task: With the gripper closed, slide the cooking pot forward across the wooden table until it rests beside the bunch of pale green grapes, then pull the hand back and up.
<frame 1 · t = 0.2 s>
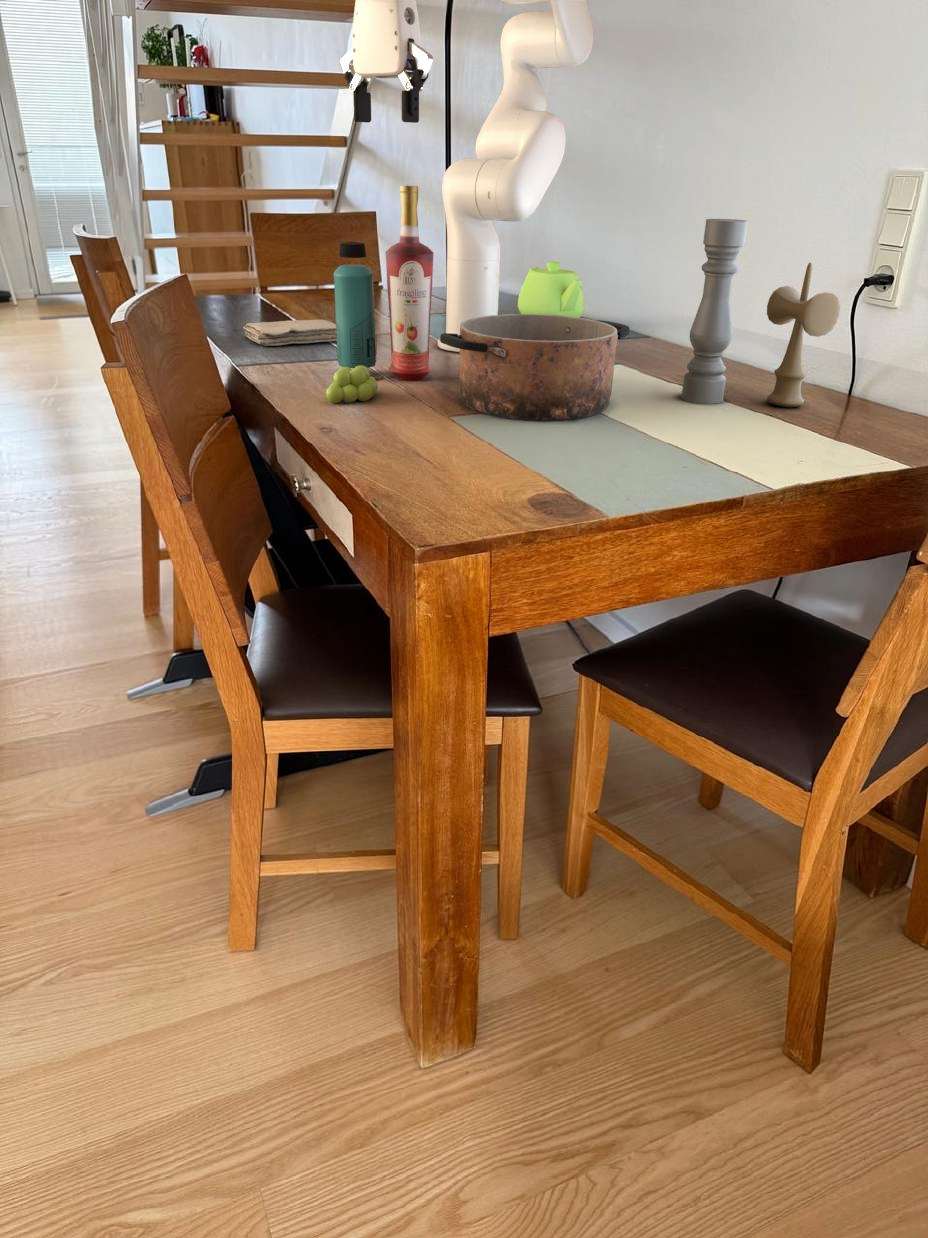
hand: (386, 121, 138), 36 cm above the table, tool pointing down, fingers open, 9 cm apart
teapot: (549, 325, 197), on the table
cooking pot: (534, 403, 136), on the table
kendama: (784, 406, 137), on the table
washcloth: (296, 340, 175), on the table
grapes: (355, 397, 135), on the table
beverage bottle: (357, 374, 150), on the table
candle holder: (701, 400, 140), on the table
liquor: (410, 378, 149), on the table
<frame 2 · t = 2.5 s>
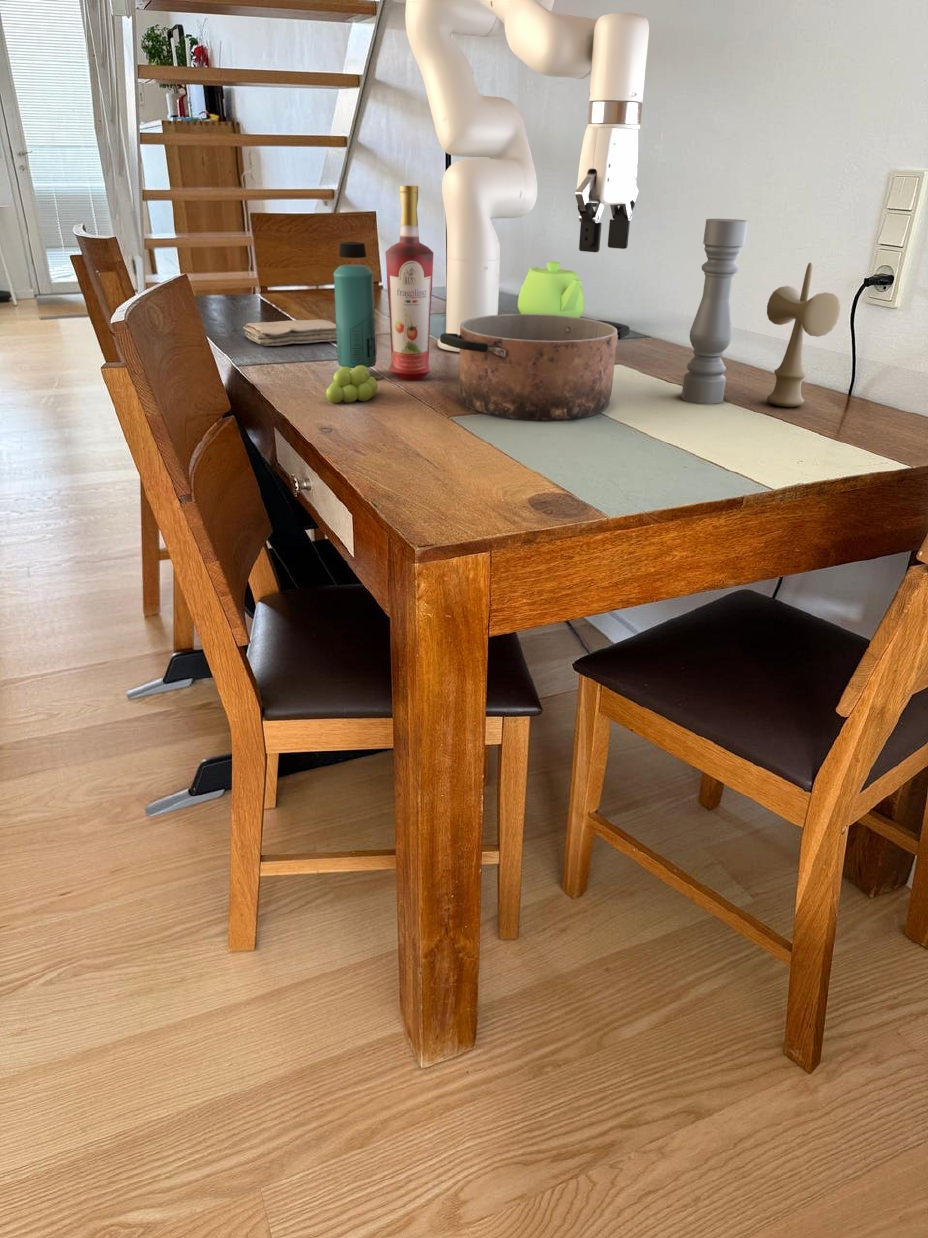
hand: (603, 248, 139), 20 cm above the table, tool pointing down, fingers open, 7 cm apart
nothing on the table moved.
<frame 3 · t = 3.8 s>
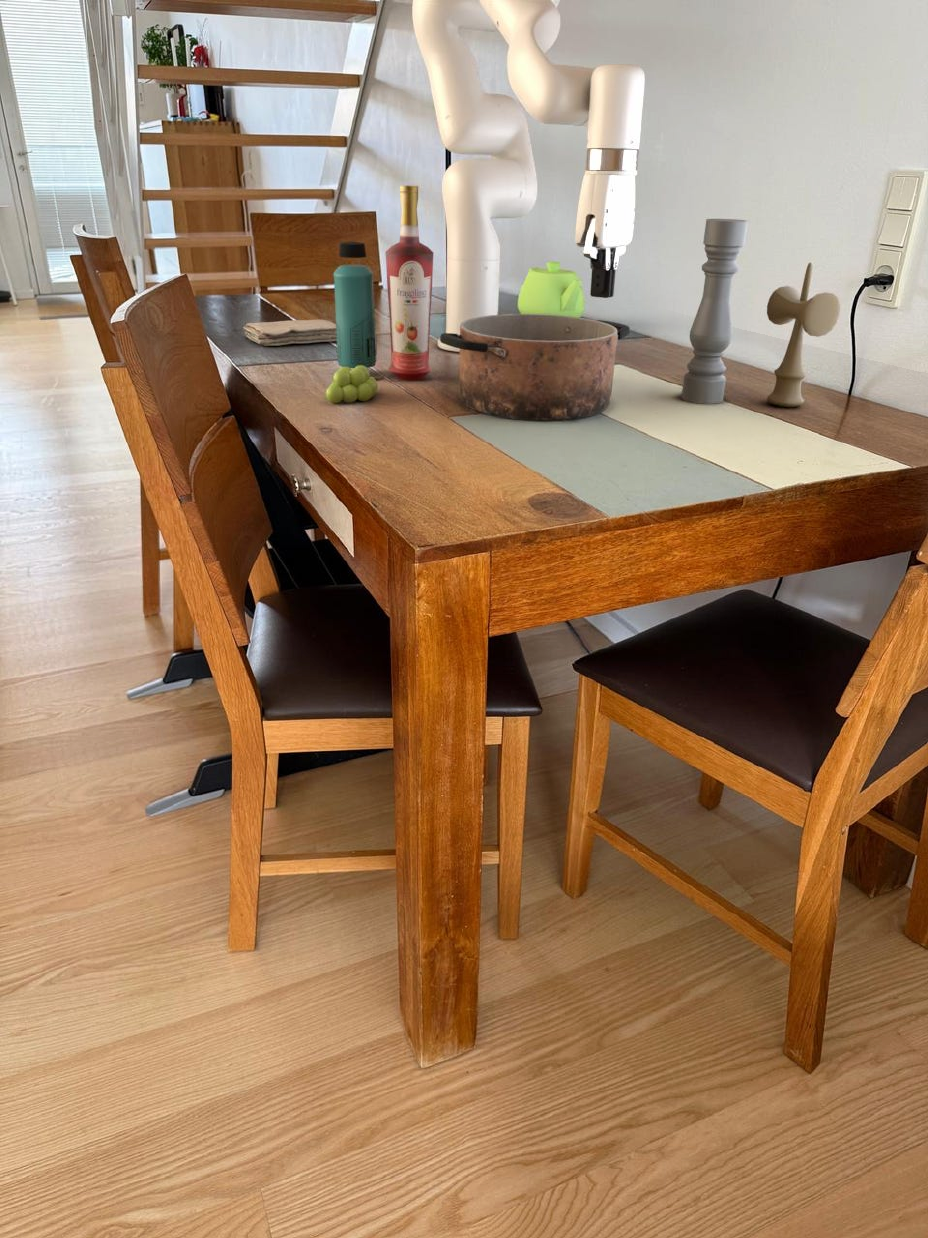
hand: (601, 296, 141), 13 cm above the table, tool pointing down, fingers closed
nothing on the table moved.
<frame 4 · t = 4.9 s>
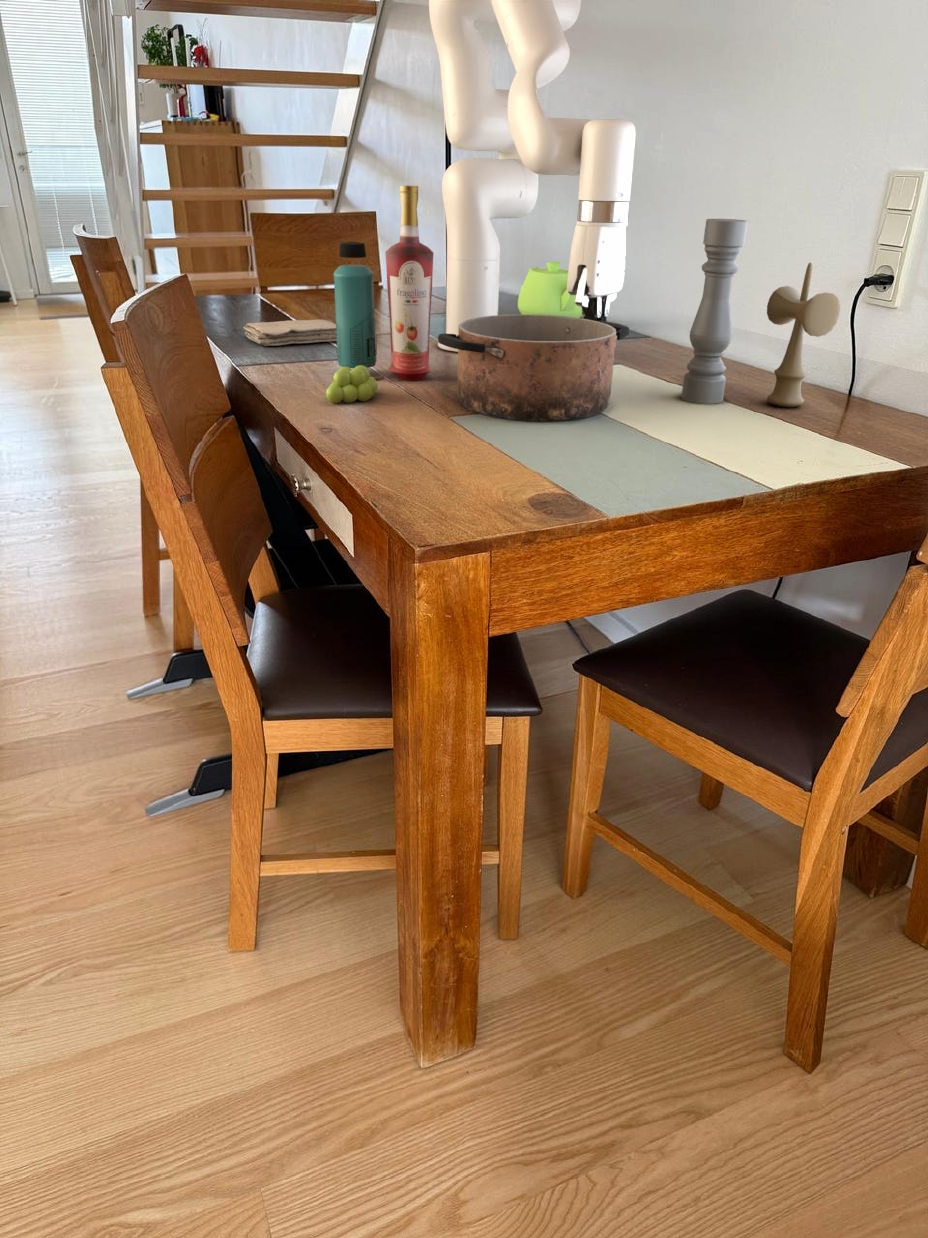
hand: (593, 342, 143), 7 cm above the table, tool pointing down, fingers closed
cooking pot: (532, 403, 135), on the table, touching gripper
everything else where it was.
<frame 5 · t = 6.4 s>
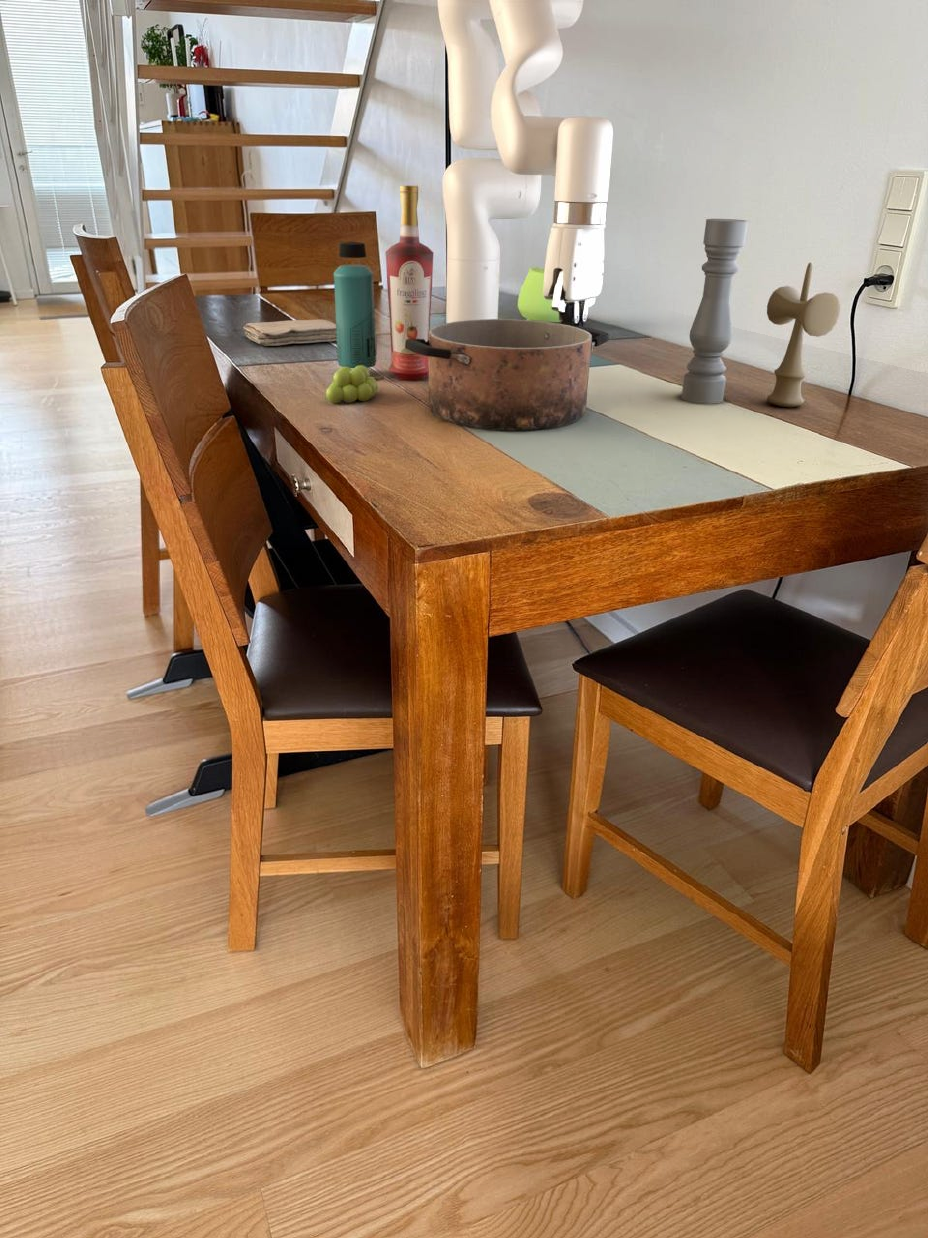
hand: (570, 348, 139), 7 cm above the table, tool pointing down, fingers closed
cooking pot: (506, 411, 131), on the table, touching gripper
everything else where it was.
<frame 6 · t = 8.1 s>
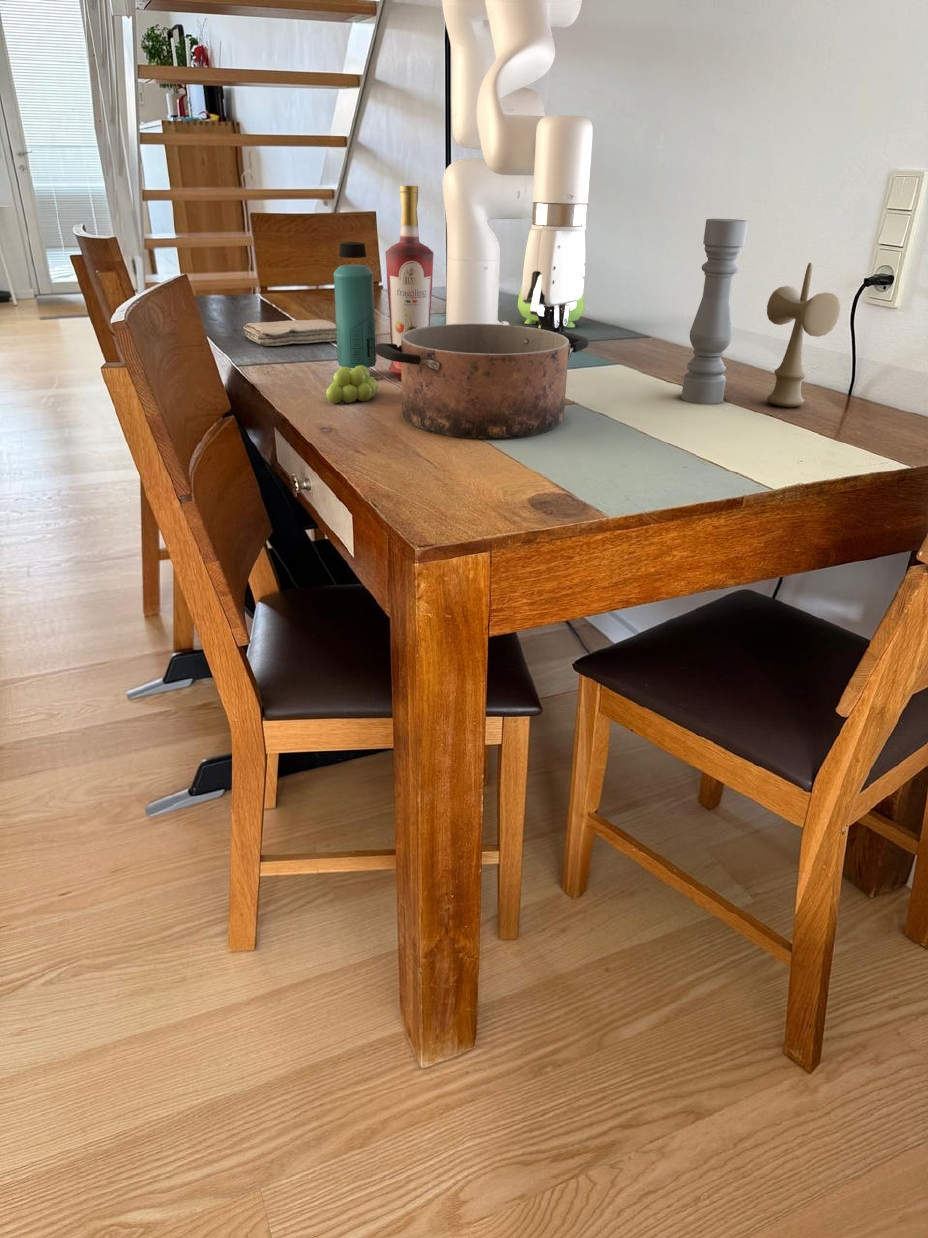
hand: (551, 353, 135), 7 cm above the table, tool pointing down, fingers closed
cooking pot: (482, 418, 127), on the table, touching gripper
everything else where it was.
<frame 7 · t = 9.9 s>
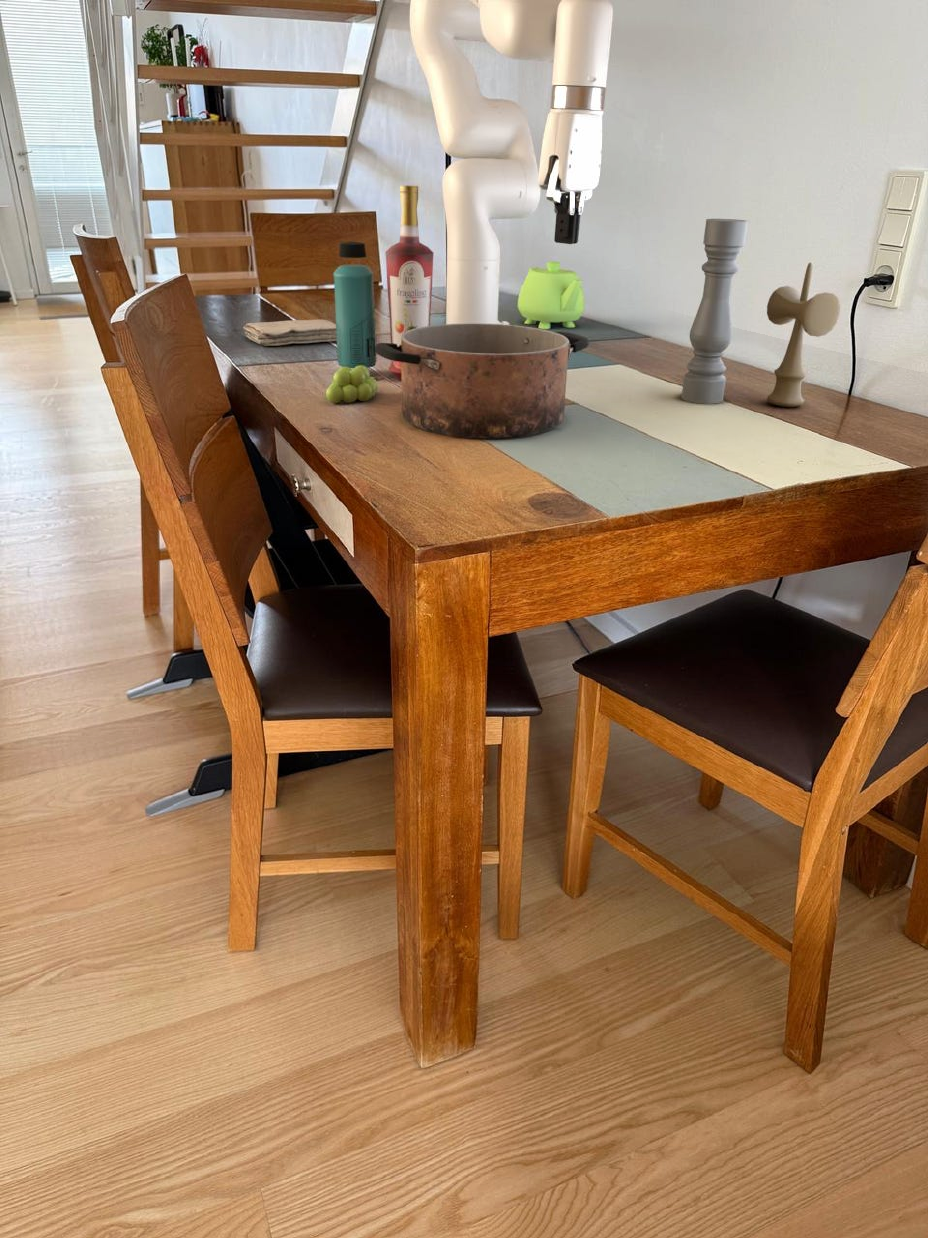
hand: (565, 242, 137), 21 cm above the table, tool pointing down, fingers closed
cooking pot: (482, 418, 127), on the table
everything else where it was.
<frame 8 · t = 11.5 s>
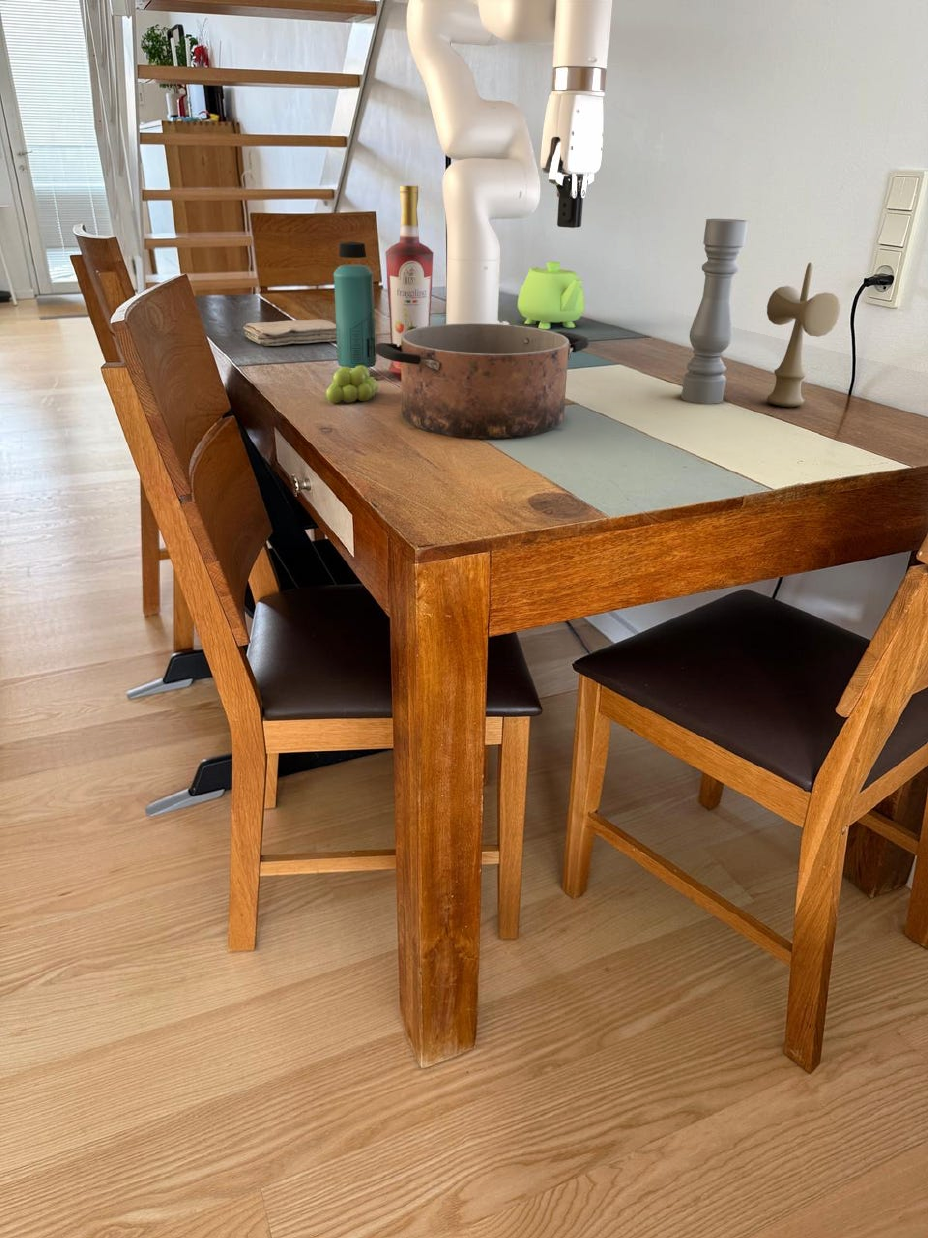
hand: (568, 226, 137), 23 cm above the table, tool pointing down, fingers closed
nothing on the table moved.
at the end: cooking pot inside the target area (2.6 cm from its centre), on the table; cooking pot tilted 0°; cooking pot touching table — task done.
